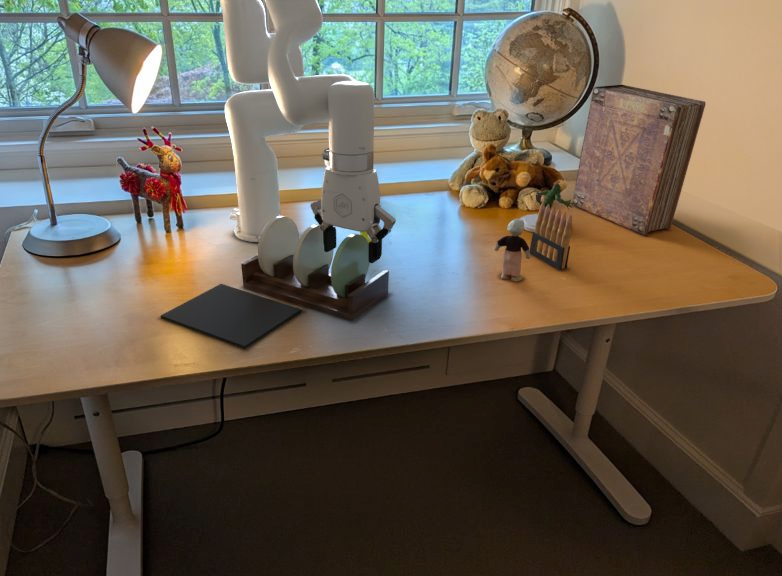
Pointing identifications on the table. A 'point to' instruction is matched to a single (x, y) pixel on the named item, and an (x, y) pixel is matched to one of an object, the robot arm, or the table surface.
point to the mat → (232, 315)
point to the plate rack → (316, 288)
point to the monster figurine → (550, 197)
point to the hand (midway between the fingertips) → (352, 255)
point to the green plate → (349, 262)
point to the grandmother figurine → (513, 250)
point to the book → (636, 156)
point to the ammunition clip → (552, 237)
